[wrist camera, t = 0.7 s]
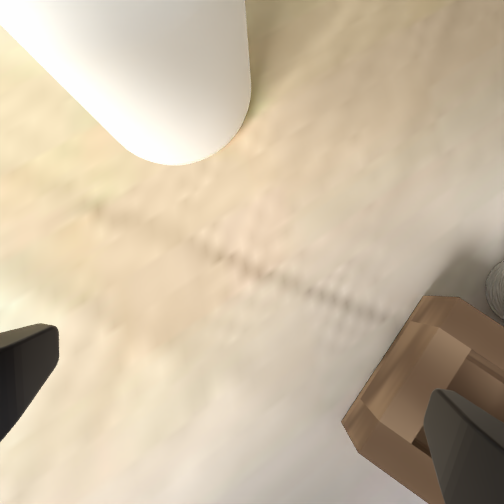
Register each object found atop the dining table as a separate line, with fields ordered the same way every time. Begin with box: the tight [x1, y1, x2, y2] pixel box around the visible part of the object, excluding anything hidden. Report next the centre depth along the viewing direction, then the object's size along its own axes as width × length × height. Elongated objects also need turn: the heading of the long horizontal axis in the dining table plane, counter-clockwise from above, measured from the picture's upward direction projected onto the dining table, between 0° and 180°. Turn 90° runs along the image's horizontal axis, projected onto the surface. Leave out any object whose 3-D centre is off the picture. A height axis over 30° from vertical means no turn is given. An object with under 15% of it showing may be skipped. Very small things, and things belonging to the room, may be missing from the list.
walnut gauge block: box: [341, 296, 504, 504], centre depth 19 cm, size 9×9×4 cm
